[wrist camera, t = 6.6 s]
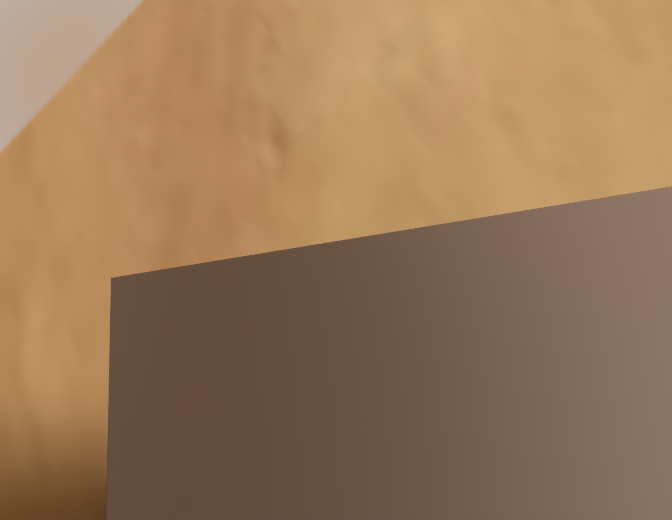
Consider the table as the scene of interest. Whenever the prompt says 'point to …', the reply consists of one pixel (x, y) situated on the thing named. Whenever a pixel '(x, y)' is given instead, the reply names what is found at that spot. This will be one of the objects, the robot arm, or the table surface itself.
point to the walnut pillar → (405, 375)
